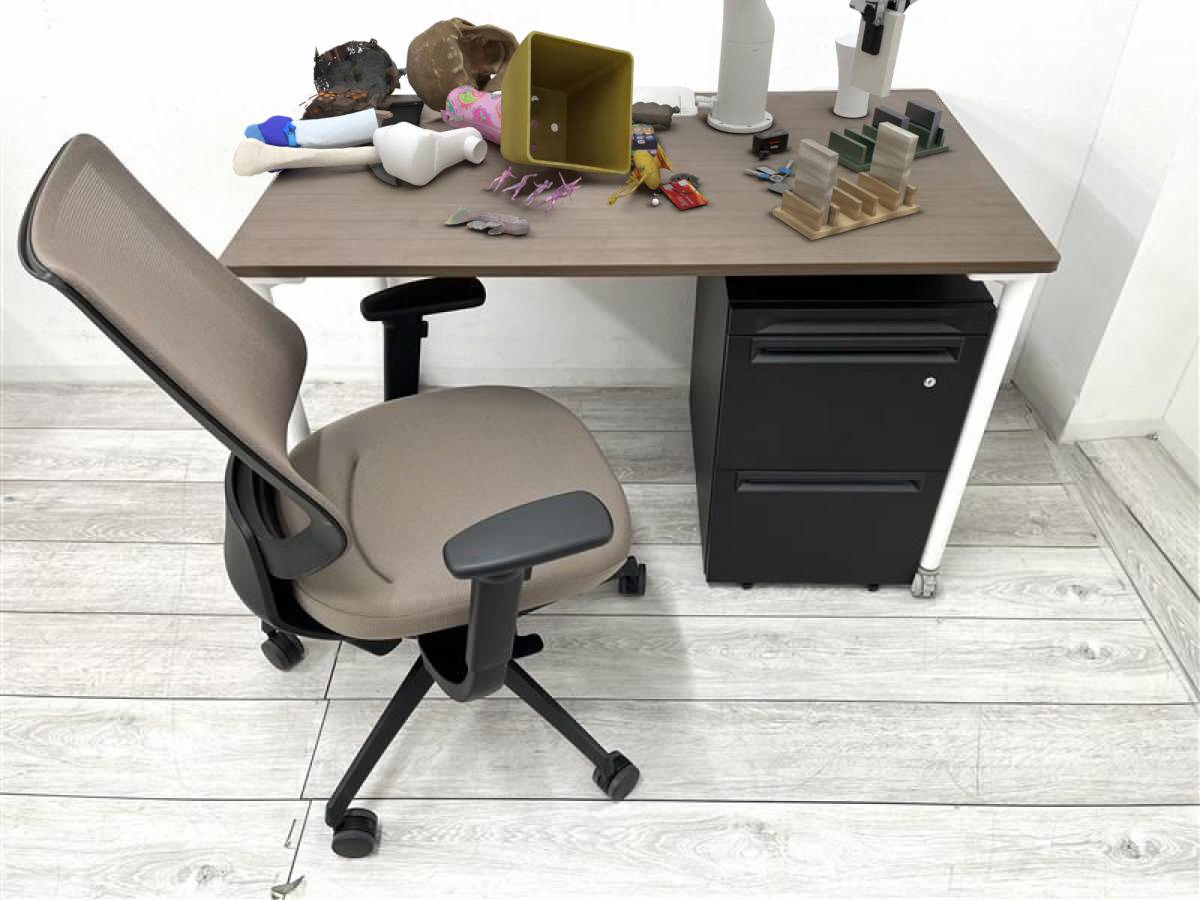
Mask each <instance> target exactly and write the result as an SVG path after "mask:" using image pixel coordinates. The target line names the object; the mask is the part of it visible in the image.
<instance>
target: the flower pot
mask: <svg viewBox="0 0 1200 900" xmlns="http://www.w3.org/2000/svg"><path fill="white" fill-rule="evenodd" d="M519 44H520V45H519V46H518V48H517V49H516V51H515V53H514V54H513V56H512V58H511V60H510V62H509V64H508V67H507V69H506V72H505V74H504V77H503V81H502V84H501V91H500V95H501V145H500V155H501V157H502V158H503V159H505V160H506V161H508V162H510V163H514V164H521V165H529V166H538V167H549V168H555V169H556V168H557V169H563V170H570V171H576V172H581V173H582V172H583V173H589V174H596V175H611V176H612V175H613V176H621V175H628V174H629V173H630V172H631V168H632V162H631V134H632V123H633V120H632V105H633V99H634V72H635V58H634V56H633V54H632V53H631V52H630V51H629V50H624V49H619V48H615V47H610V46H605V45H602V44H601V45H600V44H597V43H592V42H587V41H582V40H578V39H575V38H570V37H565V36H562V35H561V36H560V35H556V34H551V33H547V32H543V31H539V30H532V31H531V30H530V32H529V33H528V34H527V35H526V36H525V37H524V39H522V41H521V42H520V43H519ZM533 97H536V98H537V100H538V103H537V104H533V103H532V101H533V100H532V98H533ZM532 120H536V121H537V122H538V128H537V129H533V128H532V127H531V121H532ZM554 124H555V125H556V126H557V130H555V131H554V130H553V128H552V125H554ZM532 144H535V145H536V146H537V148H538V150H537V151H536V152H533V151H532V150H531V145H532Z"/></svg>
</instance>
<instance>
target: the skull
mask: <svg viewBox="0 0 1200 900" xmlns="http://www.w3.org/2000/svg"><path fill="white" fill-rule="evenodd" d="M520 44H521V43H520V42H519V41H518V39H517V37H516V35H514V33H513V32H511V31H509V30H508V29H505V28H501V27H499V26H498V25H495V24H488V23H486V24H482V25H481V24H480V25H476V24H475V23H473V22H470V21H468V20H467V19H464V18H461V17H458V16H453V17H452V18H450V19H447V20H444V19H443V20H438V21H437V22H435V23H434V24H432V25H431V26H430V27H428V28H427V29H425V30H424V31H422V32H421V33H420V34H418V35H416V36H415V37H413V39H412V40H411V42H410V43H409V45H408V47H407V51H406V64H405V67H406V70H407V74H406V78H407V82H408V84H409V86H410V87H411V88H412V90H413V91H414V93H415V94H416V96H417V97H418V99H420V101H423V103H425V104H424V105H425V106H427V107H428V108H429V109H430V110H432V111H434V112H436V113H441V110H443V111H446V100H447V97H448V95H449V94H450V92H451V91H452V90H454V89H456V88H458V87H460V86H465V85H469V86H471V87H473V88H474V89H475V90H477V91H478V92H484V93H491V94H495V93H496V92H501V84H502V81H503V77H504V74H505V72H506V69H507V67H508V64H509V62H510V60H511V58H512V56H513V54H514V53H515V51H516V49H517V48H518V46H519V45H520ZM493 75H494V76H493Z"/></svg>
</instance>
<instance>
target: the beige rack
mask: <svg viewBox="0 0 1200 900" xmlns="http://www.w3.org/2000/svg"><path fill="white" fill-rule="evenodd" d="M918 137H919V136H917V135H915V134H913V133H911V132H908V131H906V130H904V129H902V128H900V127H898V126H895V125H893V124H891V123H889V122H883V123H879V128H878V133H877V138H876V142H875V147H874V152H873V157H872V162H871V167H870V169H869V171H868V173H866V172H864V171H860V172H858V177H857V183H856V184H855V183H854V182H852V181H850V180H849V179H846V178H845V177H843V176H839V177H837V182H836V185H835V180H836V179H835V178H836V175H837V168H838V163H839V162H838V157H839V154H838V153H836V152H834V151H832V150H830V149H828V148H826V146H824V145H823V144H821V143H819V142H817V141H815V140H813V139H811V138H806V139H800V143H799V149H798V157H797V163H796V171H795V177H794V185H793V191H790V190H789V191H788V190H784V191H783V193H782V197H781V204H780V207H777V208H773V210H772V211H773V212H772V215H773V216H774V217H776V218H777V219H778V220H780V221H782V222H783V223H785V225H788V226H789V227H790V228H792V229H794V230H795V231H797V232H799V233H800V234H801V235H803V236H804V237H806V238H808V239H809V240H810V241H814V240H818V239H822V238H826V237H829V236H832V235H837V234H840V233H844V232H848V231H852V230H857V229H860V228H863V227H867V226H870V225H871V226H872V225H874V224H878V223H883V222H886V221H890V220H893V219H898V218H901V217H904V216H908V215H913V214H917V213H918V212H919V210H920V205H918V204H917V203H914V202H915V198H916V194H917V190H918V187H915V186H914V185H912V184H910V183H909V179H910V175H911V171H912V167H913V163H914V159H915V158H914V154H915V150H916V145H917V141H918ZM913 158H914V159H913Z"/></svg>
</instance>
